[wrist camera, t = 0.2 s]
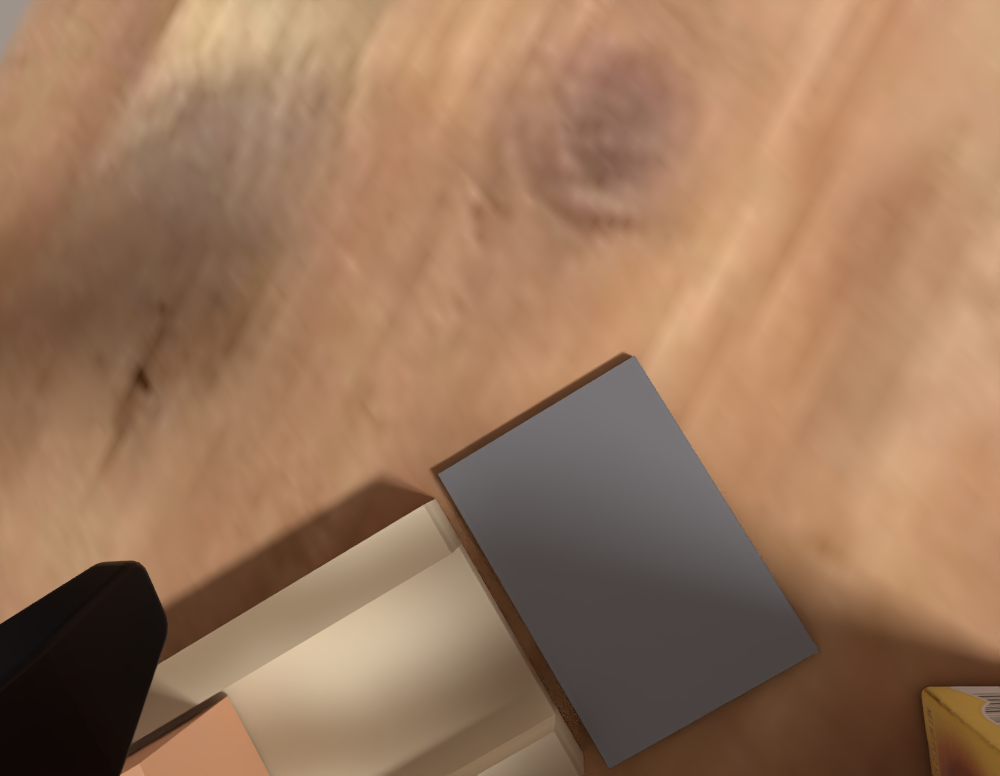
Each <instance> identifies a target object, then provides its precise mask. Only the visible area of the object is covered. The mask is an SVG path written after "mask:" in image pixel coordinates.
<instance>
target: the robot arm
mask: <svg viewBox="0 0 1000 776" xmlns="http://www.w3.org/2000/svg"><path fill="white" fill-rule="evenodd" d="M167 625H168V624H167V617H166V614H165V611H164V609H163V607H162V605H161V602H160V600H159V598H158V595H157V593H156V591H155V589H154V586H153V584H152V582H151V579H150V577H149V575H148V573H147V571H146V569H145V567H144V566H143V565H141V564H140V563H139V562H136V561H111V562H102V563H98V564H96V565H94V566H92V567H90V568H89V569H87V570H86V571H84V572H82V573H81V574H79V575H78V576H76V577H75V578H73V579H71V580H70V581H68V582H67V583H65V584H63V585H62V586H60V587H59V588H57V589H55V590H54V591H52V592H51V593H49V594H47V595H46V596H44V597H43V598H41V599H39V600H38V601H36V602H35V603H33V604H32V605H30V606H28V607H27V608H25V609H24V610H22V611H20V612H19V613H17V614H16V615H14V616H12V617H11V618H9V619H8V620H6V621H4V622H3V623H1V624H0V776H120V775H121V772H122V769H123V767H124V764H125V761H126V758H127V756H128V753H129V750H130V747H131V744H132V741H133V738H134V735H135V732H136V729H137V726H138V723H139V720H140V717H141V714H142V711H143V708H144V705H145V702H146V698H147V695H148V692H149V689H150V686H151V683H152V680H153V677H154V674H155V671H156V668H157V665H158V662H159V659H160V656H161V653H162V650H163V647H164V644H165V641H166V637H167Z"/></svg>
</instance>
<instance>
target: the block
mask: <svg viewBox="0 0 1000 776" xmlns="http://www.w3.org/2000/svg"><path fill="white" fill-rule="evenodd" d="M120 776H270V775H269V773H268V771H267V769H266V767H265V765H264V763H263V762H262V760H261V758H260V756H259V754H258V752H257V750H256V748H255V746H254V745H253V743H252V741H251V739H250V737H249V735H248V733H247V731H246V729H245V728H244V726H243V724H242V722H241V720H240V718H239V716H238V714H237V712H236V710H235V709H234V707H233V705H232V703H231V701H230V699H229V697H228V696H227V697H225V698H223V699H222V700H220V701H218V702H216V703H215V704H213V705H211V706H210V707H208V708H206V709H205V710H203V711H201V712H200V713H198V714H196V715H195V716H193V717H191V718H189V719H188V720H186V721H184V722H183V723H181V724H179V725H178V726H176V727H174V728H173V729H171V730H169V731H168V732H166V733H164V734H163V735H161V736H159V737H157V738H156V739H154V740H152V741H151V742H149V743H147V744H146V745H144V746H142V747H141V748H139V749H137V750H136V751H134V752H132V753H131V754H129V755H128V756H127V758H126V761H125V764H124V767H123V769H122V772H121V775H120Z"/></svg>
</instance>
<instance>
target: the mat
mask: <svg viewBox="0 0 1000 776" xmlns="http://www.w3.org/2000/svg"><path fill="white" fill-rule="evenodd" d="M438 475H439V477H440V479H441V481H442V482H443V484H444V486H445V488H446V489H447V491H448V493H449V494H450V496H451V498H452V500H453V501H454V503H455V505H456V506H457V508H458V510H459V512H460V513H461V515H462V517H463V518H464V520H465V522H466V524H467V525H468V527H469V529H470V531H471V532H472V534H473V536H474V537H475V539H476V541H477V543H478V544H479V546H480V548H481V549H482V551H483V553H484V555H485V556H486V558H487V560H488V561H489V563H490V565H491V567H492V568H493V570H494V572H495V574H496V575H497V577H498V579H499V580H500V582H501V584H502V586H503V587H504V589H505V591H506V592H507V594H508V596H509V598H510V599H511V601H512V603H513V605H514V606H515V608H516V610H517V611H518V613H519V615H520V617H521V618H522V620H523V622H524V623H525V625H526V627H527V629H528V630H529V632H530V634H531V635H532V637H533V639H534V641H535V642H536V644H537V646H538V648H539V649H540V651H541V653H542V654H543V656H544V658H545V660H546V661H547V663H548V665H549V666H550V668H551V670H552V672H553V673H554V675H555V677H556V678H557V680H558V682H559V684H560V685H561V687H562V689H563V691H564V692H565V694H566V696H567V697H568V699H569V701H570V703H571V704H572V706H573V708H574V709H575V711H576V713H577V715H578V716H579V718H580V720H581V721H582V723H583V725H584V727H585V728H586V730H587V732H588V734H589V735H590V737H591V739H592V740H593V742H594V744H595V746H596V747H597V749H598V751H599V752H600V754H601V756H602V758H603V759H604V761H605V763H606V764H607V766H608V768H609V769H610V768H612V767H614V766H616V765H618V764H619V763H621V762H623V761H625V760H626V759H628V758H630V757H632V756H634V755H635V754H637V753H639V752H641V751H642V750H644V749H646V748H648V747H650V746H651V745H653V744H655V743H657V742H658V741H660V740H662V739H664V738H666V737H667V736H669V735H671V734H673V733H674V732H676V731H678V730H680V729H682V728H683V727H685V726H687V725H689V724H690V723H692V722H694V721H696V720H698V719H699V718H701V717H703V716H705V715H707V714H708V713H710V712H712V711H714V710H715V709H717V708H719V707H721V706H723V705H724V704H726V703H728V702H730V701H731V700H733V699H735V698H737V697H739V696H740V695H742V694H744V693H746V692H747V691H749V690H751V689H753V688H755V687H756V686H758V685H760V684H762V683H763V682H765V681H767V680H769V679H771V678H772V677H774V676H776V675H778V674H779V673H781V672H783V671H785V670H787V669H788V668H790V667H792V666H794V665H795V664H797V663H799V662H801V661H803V660H804V659H806V658H808V657H810V656H811V655H813V654H815V653H817V652H819V650H818V648H817V646H816V645H815V643H814V642H813V640H812V638H811V637H810V635H809V634H808V632H807V630H806V629H805V627H804V626H803V624H802V622H801V621H800V619H799V618H798V616H797V614H796V613H795V611H794V610H793V608H792V606H791V605H790V603H789V602H788V600H787V598H786V597H785V595H784V594H783V592H782V590H781V589H780V587H779V586H778V584H777V582H776V581H775V579H774V578H773V576H772V574H771V573H770V571H769V570H768V568H767V566H766V565H765V563H764V562H763V560H762V558H761V557H760V555H759V554H758V552H757V550H756V549H755V547H754V546H753V544H752V542H751V541H750V539H749V538H748V536H747V534H746V533H745V531H744V530H743V528H742V526H741V525H740V523H739V522H738V520H737V518H736V517H735V515H734V514H733V512H732V510H731V509H730V507H729V506H728V504H727V502H726V501H725V499H724V498H723V496H722V494H721V493H720V491H719V490H718V488H717V486H716V485H715V483H714V482H713V480H712V478H711V477H710V475H709V474H708V472H707V470H706V469H705V467H704V466H703V464H702V462H701V461H700V459H699V458H698V456H697V454H696V453H695V451H694V450H693V448H692V446H691V445H690V443H689V442H688V440H687V438H686V437H685V435H684V434H683V432H682V431H681V429H680V427H679V426H678V424H677V423H676V421H675V419H674V418H673V416H672V415H671V413H670V411H669V410H668V408H667V407H666V405H665V403H664V402H663V400H662V399H661V397H660V395H659V394H658V392H657V391H656V389H655V387H654V386H653V384H652V383H651V381H650V379H649V378H648V376H647V375H646V373H645V371H644V370H643V368H642V367H641V365H640V363H639V362H638V360H637V359H636V357H635V356H633V357H631V358H630V359H628V360H626V361H625V362H623V363H621V364H620V365H618V366H616V367H615V368H613V369H611V370H610V371H608V372H606V373H605V374H603V375H602V376H600V377H598V378H597V379H595V380H593V381H592V382H590V383H588V384H587V385H585V386H583V387H582V388H580V389H578V390H577V391H575V392H573V393H572V394H570V395H568V396H567V397H565V398H563V399H562V400H560V401H558V402H557V403H555V404H553V405H552V406H550V407H549V408H547V409H545V410H544V411H542V412H540V413H539V414H537V415H535V416H534V417H532V418H530V419H529V420H527V421H525V422H524V423H522V424H520V425H519V426H517V427H515V428H514V429H512V430H510V431H509V432H507V433H505V434H504V435H502V436H500V437H499V438H497V439H495V440H494V441H492V442H491V443H489V444H487V445H486V446H484V447H482V448H481V449H479V450H477V451H476V452H474V453H472V454H471V455H469V456H467V457H466V458H464V459H462V460H461V461H459V462H457V463H456V464H454V465H452V466H451V467H449V468H447V469H446V470H444V471H442V472H441V473H439V474H438Z"/></svg>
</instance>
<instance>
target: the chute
mask: <svg viewBox="0 0 1000 776" xmlns="http://www.w3.org/2000/svg"><path fill="white" fill-rule="evenodd" d="M227 696H228V697H229V699H230V701H231V703H232V705H233V707H234V709H235V710H236V712H237V714H238V716H239V718H240V720H241V722H242V724H243V726H244V728H245V729H246V731H247V733H248V735H249V737H250V739H251V741H252V743H253V745H254V746H255V748H256V750H257V752H258V754H259V756H260V758H261V760H262V762H263V763H264V765H265V767H266V769H267V771H268V773H269V775H270V776H584V754H583V752H582V750H581V749H580V747H579V745H578V743H577V742H576V740H575V738H574V737H573V735H572V733H571V731H570V730H569V728H568V726H567V724H566V723H565V721H564V719H563V718H562V716H561V714H560V712H559V711H558V709H557V707H556V705H555V704H554V702H553V700H552V699H551V697H550V695H549V693H548V692H547V690H546V688H545V686H544V685H543V683H542V681H541V680H540V678H539V676H538V674H537V673H536V671H535V669H534V667H533V666H532V664H531V662H530V661H529V659H528V657H527V655H526V654H525V652H524V650H523V648H522V647H521V645H520V643H519V642H518V640H517V638H516V636H515V635H514V633H513V631H512V629H511V628H510V626H509V624H508V623H507V621H506V619H505V617H504V616H503V614H502V612H501V610H500V609H499V607H498V605H497V604H496V602H495V600H494V598H493V597H492V595H491V593H490V591H489V590H488V588H487V586H486V584H485V583H484V581H483V579H482V578H481V576H480V574H479V572H478V571H477V569H476V567H475V565H474V564H473V562H472V560H471V559H470V557H469V555H468V553H467V552H466V550H465V548H464V546H463V545H462V543H461V541H460V540H459V538H458V536H457V534H456V533H455V531H454V529H453V527H452V526H451V524H450V522H449V521H448V519H447V517H446V515H445V514H444V512H443V510H442V508H441V507H440V505H439V503H438V502H437V500H436V499H434V500H432V501H430V502H428V503H426V504H424V505H422V506H421V507H419V508H417V509H416V510H414V511H412V512H411V513H409V514H407V515H406V516H404V517H402V518H401V519H399V520H397V521H396V522H394V523H392V524H391V525H389V526H387V527H386V528H384V529H382V530H381V531H379V532H377V533H376V534H374V535H372V536H371V537H369V538H367V539H366V540H364V541H362V542H361V543H359V544H357V545H356V546H354V547H352V548H351V549H349V550H347V551H346V552H344V553H342V554H341V555H339V556H337V557H336V558H334V559H332V560H331V561H329V562H327V563H326V564H324V565H322V566H321V567H319V568H318V569H316V570H314V571H313V572H311V573H309V574H308V575H306V576H304V577H303V578H301V579H299V580H298V581H296V582H294V583H293V584H291V585H289V586H288V587H286V588H284V589H283V590H281V591H279V592H278V593H276V594H274V595H273V596H271V597H269V598H268V599H266V600H264V601H263V602H261V603H259V604H258V605H256V606H254V607H253V608H251V609H249V610H248V611H246V612H244V613H243V614H241V615H239V616H238V617H236V618H234V619H233V620H231V621H229V622H228V623H226V624H224V625H223V626H221V627H219V628H218V629H216V630H214V631H213V632H211V633H209V634H208V635H206V636H204V637H203V638H201V639H199V640H198V641H196V642H194V643H193V644H191V645H189V646H188V647H186V648H184V649H183V650H181V651H179V652H178V653H176V654H175V655H173V656H171V657H170V658H168V659H166V660H165V661H163V662H161V663H160V664H158V665H157V668H156V671H155V674H154V677H153V680H152V683H151V686H150V689H149V692H148V695H147V698H146V702H145V705H144V708H143V711H142V714H141V717H140V720H139V723H138V726H137V729H136V732H135V735H134V738H133V741H132V744H131V747H130V750H129V753H128V755H129V754H131V753H132V752H134V751H136V750H137V749H139V748H141V747H142V746H144V745H146V744H147V743H149V742H151V741H152V740H154V739H156V738H157V737H159V736H161V735H163V734H164V733H166V732H168V731H169V730H171V729H173V728H174V727H176V726H178V725H179V724H181V723H183V722H184V721H186V720H188V719H189V718H191V717H193V716H195V715H196V714H198V713H200V712H201V711H203V710H205V709H206V708H208V707H210V706H211V705H213V704H215V703H216V702H218V701H220V700H222V699H223V698H225V697H227Z"/></svg>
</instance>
